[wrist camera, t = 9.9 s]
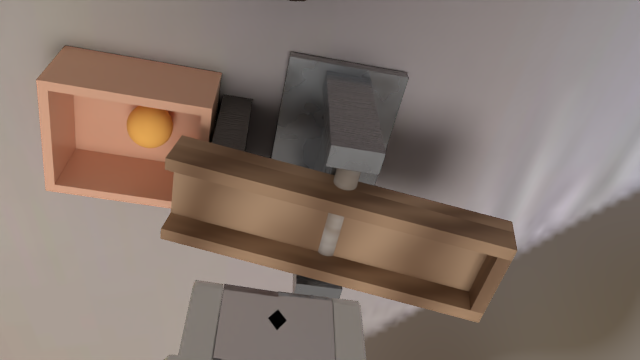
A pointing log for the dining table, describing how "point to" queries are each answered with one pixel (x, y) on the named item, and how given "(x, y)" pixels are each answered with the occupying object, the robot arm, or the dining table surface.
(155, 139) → the ball
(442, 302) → the brown wooden tray
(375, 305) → the dining table surface
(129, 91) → the pink open box
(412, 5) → the dining table surface
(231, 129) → the stand
